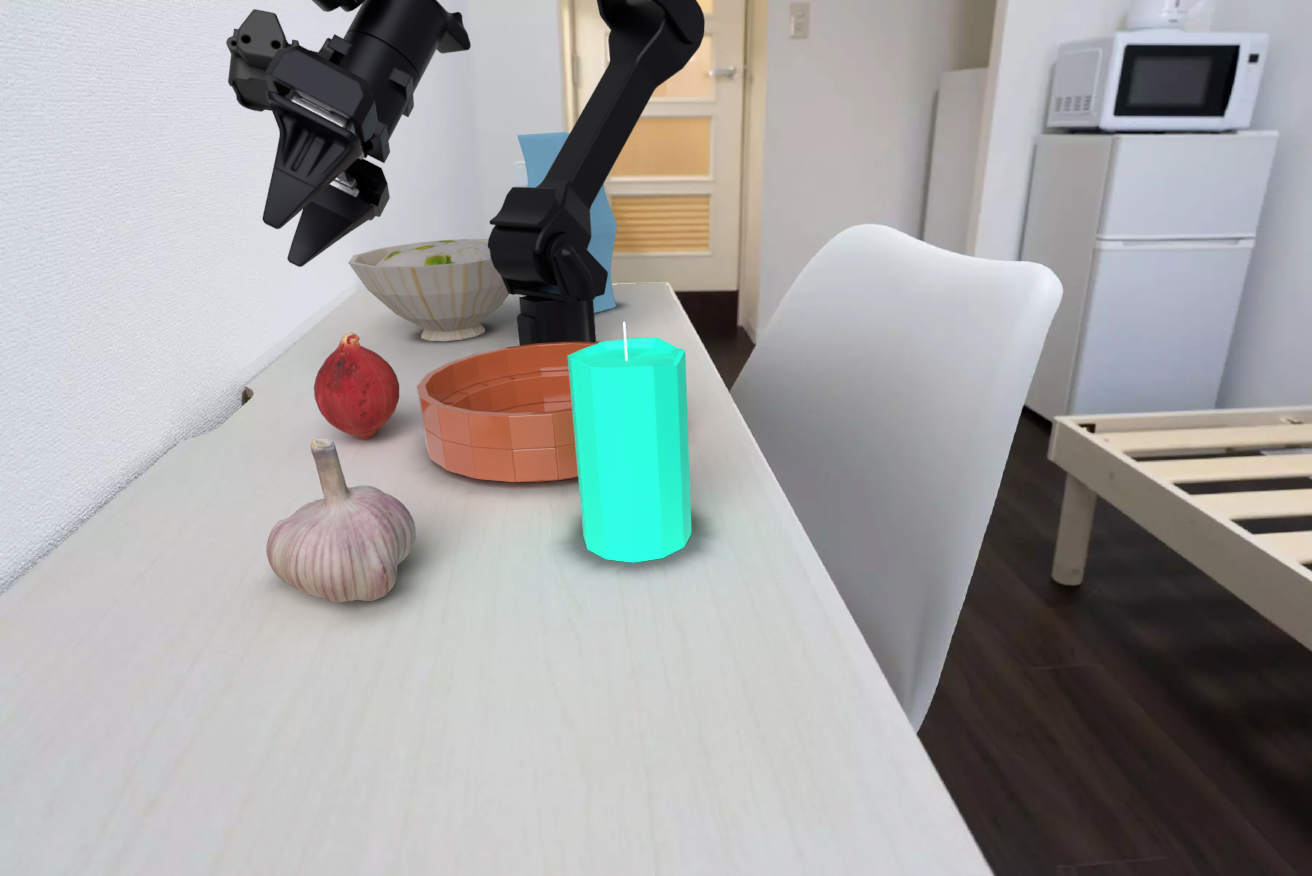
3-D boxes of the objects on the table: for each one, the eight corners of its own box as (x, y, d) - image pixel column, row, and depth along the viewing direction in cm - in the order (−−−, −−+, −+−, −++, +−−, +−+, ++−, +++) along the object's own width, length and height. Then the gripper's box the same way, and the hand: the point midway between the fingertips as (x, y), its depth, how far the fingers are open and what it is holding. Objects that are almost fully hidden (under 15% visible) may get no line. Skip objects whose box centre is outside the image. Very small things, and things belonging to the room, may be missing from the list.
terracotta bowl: (585, 387, 71) (580, 330, 70) (719, 440, 58) (717, 372, 57) (391, 439, 62) (380, 374, 60) (499, 516, 49) (489, 437, 47)
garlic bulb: (406, 616, 39) (378, 461, 36) (248, 630, 39) (206, 474, 36) (432, 540, 46) (410, 405, 44) (298, 551, 46) (266, 415, 43)
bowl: (575, 321, 95) (568, 231, 91) (452, 365, 80) (437, 260, 76) (453, 307, 105) (442, 226, 101) (323, 345, 90) (305, 251, 86)
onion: (381, 455, 59) (362, 345, 56) (308, 452, 60) (285, 344, 57) (419, 426, 64) (403, 324, 61) (351, 424, 65) (332, 324, 62)
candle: (610, 573, 42) (593, 344, 38) (566, 527, 47) (546, 319, 43) (712, 543, 45) (706, 324, 40) (660, 502, 50) (650, 303, 45)
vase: (621, 305, 101) (610, 130, 94) (574, 318, 96) (559, 134, 89) (576, 298, 106) (563, 132, 99) (529, 311, 101) (511, 135, 93)
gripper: (295, 67, 68) (203, 233, 65) (244, -87, 50) (115, 133, 47) (423, 135, 70) (340, 297, 68) (419, 10, 52) (305, 225, 50)
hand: (282, 246), depth 58 cm, fingers open, 9 cm apart
